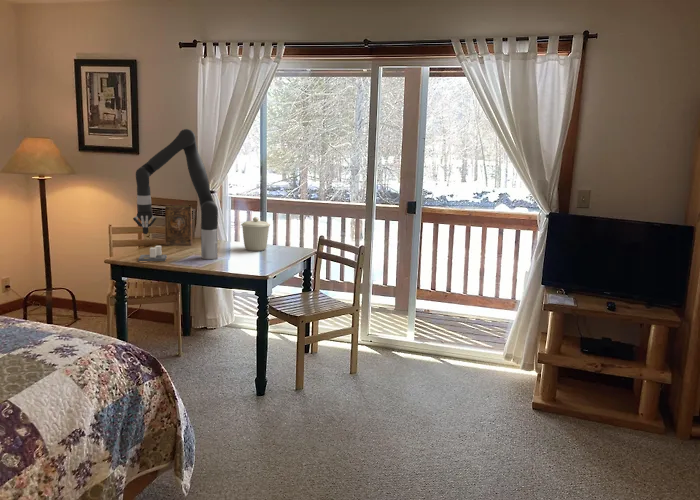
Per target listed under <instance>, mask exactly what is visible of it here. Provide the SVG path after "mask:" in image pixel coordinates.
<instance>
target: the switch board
mask: <svg viewBox="0 0 700 500" xmlns="http://www.w3.org/2000/svg"><path fill="white" fill-rule="evenodd" d="M166 258H168V255H167V254H161V255H156V258H150V254H140V256H139V257H138V262H139V261H165V260H166V261H167V259H166ZM166 261H165V262H166Z"/></svg>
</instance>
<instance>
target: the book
mask: <svg viewBox="0 0 700 500" xmlns="http://www.w3.org/2000/svg"><path fill="white" fill-rule="evenodd" d="M164 217H165V218H164V219H165V220H164V222H165V223H164V226H165V229H164V230H165V245H166V246H167V247H168V246H170V247H172V246H173V247H174V246H177V247H179V246H180V247H181V246H185V247H186V246H187V247H188V246H189V247H190V246H193V206H192V205H166V206H165V208H164Z"/></svg>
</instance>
